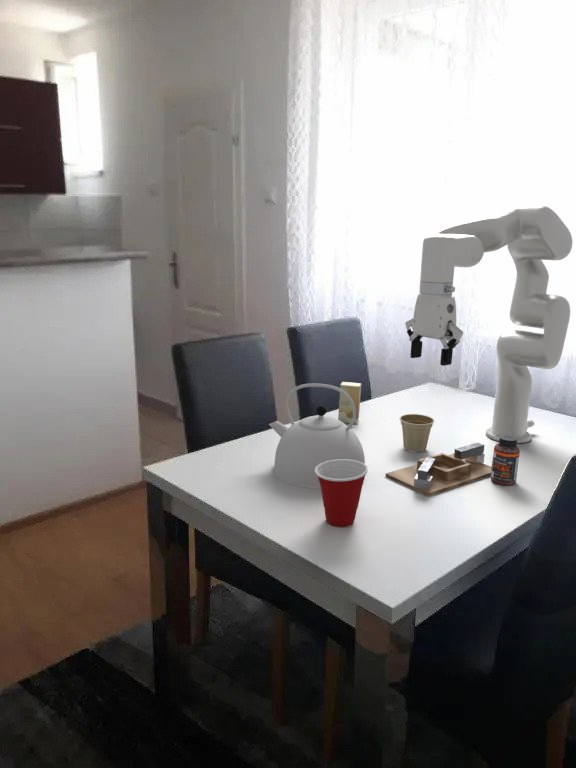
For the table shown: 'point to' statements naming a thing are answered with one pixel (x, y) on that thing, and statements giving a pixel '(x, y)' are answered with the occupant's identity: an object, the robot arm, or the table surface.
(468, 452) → the pair of grey blocks
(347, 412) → the skincare box
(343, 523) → the plastic cup
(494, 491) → the table surface
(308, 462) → the kettle
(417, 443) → the flower pot
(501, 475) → the supplement bottle
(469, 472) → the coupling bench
